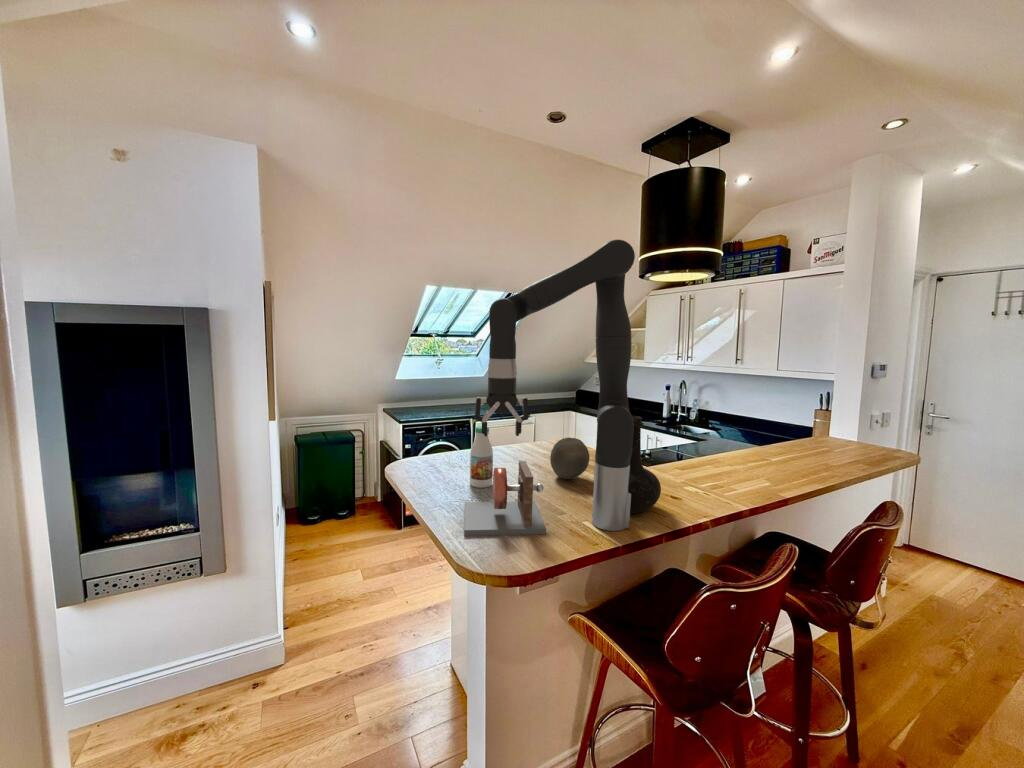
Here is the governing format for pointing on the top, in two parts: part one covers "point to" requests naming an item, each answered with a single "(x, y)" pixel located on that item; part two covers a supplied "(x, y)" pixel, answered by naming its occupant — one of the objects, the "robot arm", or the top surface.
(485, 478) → the milk bottle
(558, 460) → the dark brown ball
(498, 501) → the copper disc with rod
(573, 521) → the top surface
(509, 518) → the base board
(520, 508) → the brown wooden panel
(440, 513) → the top surface
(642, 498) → the dark bulbous vase
